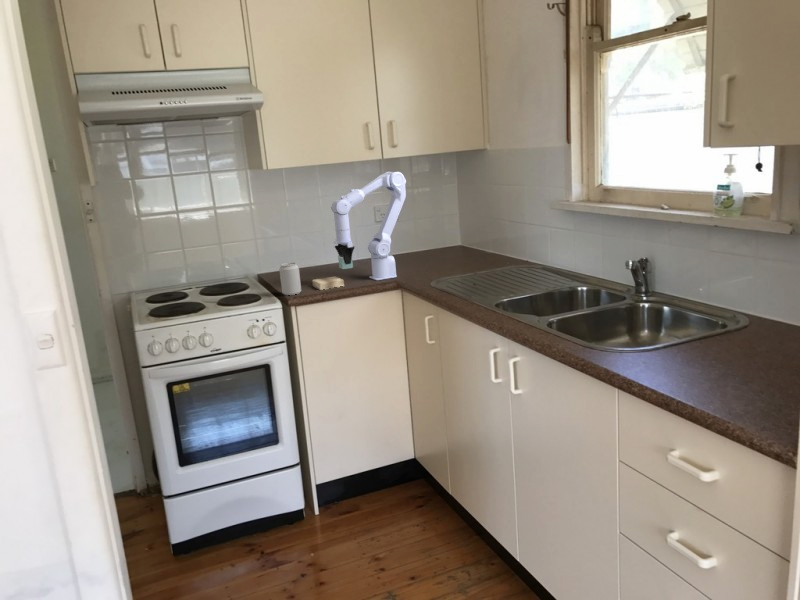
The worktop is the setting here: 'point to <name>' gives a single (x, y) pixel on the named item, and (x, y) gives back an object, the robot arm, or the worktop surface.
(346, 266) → the tin
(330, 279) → the beige square slab
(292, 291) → the can
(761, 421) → the worktop surface
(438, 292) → the worktop surface
